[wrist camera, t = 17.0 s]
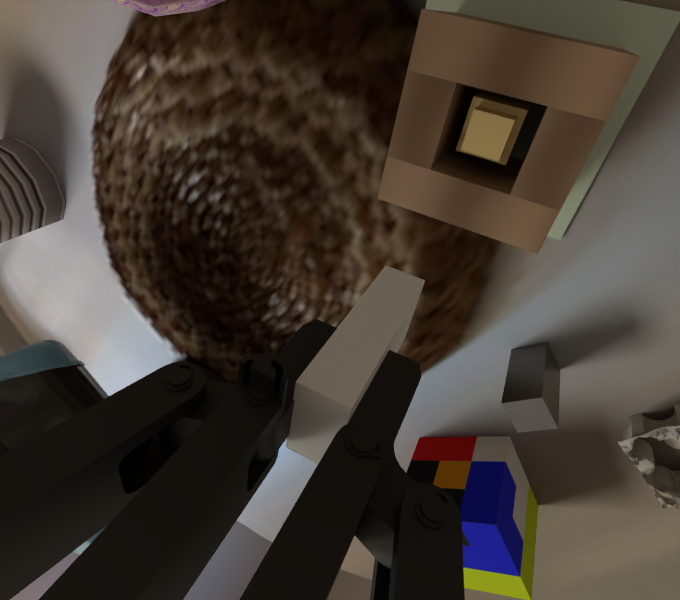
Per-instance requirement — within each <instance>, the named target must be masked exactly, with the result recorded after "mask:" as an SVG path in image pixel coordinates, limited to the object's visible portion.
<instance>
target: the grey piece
mask: <svg viewBox="0 0 680 600" xmlns="http://www.w3.org/2000/svg"><path fill="white" fill-rule="evenodd" d="M674 410H675V412H674V414H673V416H672V417H670V418H668V419H666V420H651V419H649V418H646V417H645V416H643V415H642V414H637V415H633V416H630V417H629V421H630V426H629V427H628V428H626V429H624V431H623V438H624V441H617V442H618V444H619V445H620V447H621V448H622V450H623V451H624V453H625V454H627V456H628V457H629V458H630V460H631V462H632V463H633V465H634V466H635V467H637V468H638V469H639V470H640V472H641V474H642V476H643V477H644V479H645V480H646V482H647V484H648V486H649V487H650V489H651V490H652V492H653V493H654V494H655V496H656V497H657V498H658V500H659V501H660V503H661V504H663V505H662V506H663V508H671V507H672V506H675V507H676V508H680V470H677V471H672V470H670V469H668V468H666V467H664V466H660V465H655V460H654V455H653V450H652V447H651V445H650V444H649V443H648V442H646V441H644V440H642V439H638V437H645V438H646V437H653V438H656V439H657V440H659V441H661V440H664V442H665V443H666V444H667V445H668V446H670V447H673V448H675V449H680V404H677V405H674Z"/></svg>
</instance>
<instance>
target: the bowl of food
mask: <svg viewBox="0 0 680 600" xmlns="http://www.w3.org/2000/svg"><path fill="white" fill-rule="evenodd" d="M111 1H113V2H116V3H119V4H122V5H125V6H128V7H130V8H133V9H136V10H139V11H142V12H145V13H147V14H150V15H153V16H162V15H170V14H177V13H185V12H193V11H200V10H202V9H205V8H208V7H211V6H213V5H216V4H218V3H220V2H223V1H225V0H111Z"/></svg>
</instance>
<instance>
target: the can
mask: <svg viewBox="0 0 680 600" xmlns="http://www.w3.org/2000/svg"><path fill="white" fill-rule="evenodd" d="M65 206H66V199H65V196H64V193H63V191H62V188H61V185H60V182H59V179H58V177H57V174H56V173H55V171H54V170H53V169H52V167H51V166H50V165H49V164H48V162H47V161H46V160H45V158H44V157H43V156H42V155H41V153H40V152H39V151H38V149H37V148H35V147H33V146H31V145H30V144H28V143H26V142H24V141H23V140H21V139H19V138H17V137H12V138H7V139H2V140H0V243H2V242H4V241H7V240H10V239H12V238H15V237H17V236H20V235H23V234H25V233H28V232H31V231H33V230H36V229H39V228H41V227H44V226H47V225H49V224H52V223H54V222H57V221H60V220H62V219H63V217H64V211H65Z"/></svg>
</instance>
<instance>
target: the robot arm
mask: <svg viewBox="0 0 680 600" xmlns="http://www.w3.org/2000/svg"><path fill="white" fill-rule="evenodd" d="M424 282H425V280H422V279H420V278H417V277H414V276H412V275H409V274H407V273H404V272H401V271H399V270H396V269H394V268H391V267H388V266H385V267H384V269H383V270H382V271H381V272H380V274H379V275H378V276H377V278H376V279H375V280H374V281H373V283H372V284H371V285H370V287H369V288H368V289H367V290H366V292H365V293H364V294H363V296H362V297H361V298H360V300H359V301H358V302H357V303H356V305H355V306H354V307H353V309H352V310H351V311H350V312H349V314H348V315H347V316H346V318H345V319H344V320H343V321H342V323H341V324H340V325H339V327H338V328H336V327H333V326H331V325H329V324H327V323H324V322H322V321H320V320H317V319H316V320H313V321H311V322H309V323H307V324H305V325H303V326H302V327H301V328H300V329H299V330H298V332H297V333H296V334H295V335H294V337H292V338H291V339H290V340H289V342H288V343H287V345H285V346H284V347H283V348H282V349H281V351H280V352H279V353H278V354H277V355H276V356H273V355H269V354H253V355H250V356H247V357H245V358H244V359H242V360H241V361H239V383H226V382H225V381H224V380H223V379H222V378H220V377H219V376H218V375H216V374H215V373H214V372H212V371H210V370H209V369H207V368H205V367H203V366H201V365H198V364H196V363H192V362H185V361H182V362H175V363H171V364H169V365H166V366H163V367H162V368H160V369H158V370H156V371H154V372H152V373H151V374H149V375H147V376H145V377H143V378H142V379H140V380H138V381H136V382H134V383H133V384H131V385H129V386H127V387H125V388H124V389H122V390H120V391H118V392H116V393H114V394H113V395H111V396H108V395H107V394H106V392H105V391H104V390H103V389H102V387H101V386H100V385H99V384H98V383H97V381H96V380H95V379H94V378H93V376H92V375H91V374H90V373H89V372H88V370H87V369H86V368H85V367H84V365H85V364H84V363H83V362H81V361H79V360H78V359H77V358H76V357H75V356H74V355H73V354H72V353H71V352H70V351H69V350H68V349H67V348H66V347H65V346H64V345H63V344H62V343H61V342H58V341H56V340H42V341H38V342H35V343H32V344H30V345H27V346H25V347H22V348H20V349H17V350H15V351H12V352H10V353H8V354H5V355H3V356H1V357H0V600H9V599H11V598H12V597H13V596H15V595H16V594H18V593H19V592H20V591H21V590H23V589H24V588H25V587H27V586H28V585H29V584H31V583H32V582H33V581H35V580H36V579H37V578H39V577H40V576H41V575H42V574H44V573H45V572H46V571H48V570H49V569H50V568H52V567H53V566H54V565H56V564H57V563H58V562H60V561H61V560H62V559H63V558H65V557H66V556H67V555H69V554H70V553H71V552H75V553H77V554H79V555H80V556H79V557H78V558H77V559H76V560H75V561H74V562H73V563H72V564H71V565H70V566H69V568H68V569H67V570H66V571H65V572H64V573H63V574H62V575H61V576H60V577H59V578H58V579H57V580H56V581H55V583H54V584H53V585H52V586H51V587H50V588H49V589H48V590H47V591H46V592H45V593H44V595H43V596H42V597H41V598H40V599H39V600H183V599H184V597H185V596H186V594H187V593H188V592H189V590H190V588H191V587H192V586H193V584H194V583H195V581H196V579H197V578H198V577H199V575H200V574H201V572H202V570H203V569H204V568H205V566H206V565H207V563H208V562H209V560H210V559H211V557H212V556H213V554H214V553H215V551H216V550H217V548H218V547H219V546H220V544H221V542H222V541H223V540H224V538H225V537H226V535H227V534H228V532H229V531H230V529H231V527H232V526H233V525H234V523H235V522H236V520H237V519H238V517H239V516H240V514H241V513H242V511H243V510H244V508H245V507H246V505H247V504H248V502H249V501H250V499H251V498H252V497H253V495H254V494H255V492H256V491H257V489H258V488H259V486H260V485H261V483H262V482H263V480H264V479H265V477H266V476H267V474H268V473H269V471H270V470H271V468H272V467H273V465H274V464H275V461H276V459H277V457H278V450H279V448H280V447H281V445H282V444H283V442H284V441H285V439H286V438H287V442H286V447H287V448H288V449H290V450H292V451H294V452H296V453H298V454H300V455H302V456H304V457H305V458H307V459H309V460H311V461H313V462H315V463H317V464H318V466H317V467H316V469H315V471H314V473H313V474H312V476H311V478H310V479H309V481H308V483H307V485H306V486H305V488H304V490H303V491H302V493H301V495H300V497H299V498H298V500H297V502H296V503H295V505H294V507H293V509H292V510H291V512H290V514H289V516H288V517H287V519H286V521H285V522H284V524H283V526H282V528H281V529H280V531H279V533H278V534H277V536H276V538H275V540H274V541H273V543H272V545H271V547H270V548H269V550H268V552H267V554H266V555H265V557H264V559H263V560H262V562H261V564H260V566H259V567H258V569H257V571H256V572H255V574H254V576H253V578H252V579H251V581H250V583H249V585H248V586H247V588H246V590H245V591H244V593H243V595H242V596H241V598H240V600H327V598H328V596H329V593H330V591H331V589H332V586H333V584H334V582H335V579H336V577H337V575H338V572H339V570H340V568H341V565H342V563H343V561H344V558H345V556H346V554H347V551H348V549H349V547H350V544H351V542H352V540H353V537H354V535H355V536H356V537H357V538H358V539H359V540H360V541H361V543H362V544H363V545H364V546H365V547H366V548H367V549H368V550H369V551H370V552H371V554H372V555H373V556H374V557H375V562H374V571H373V579H372V587H371V596H370V600H465V597H464V570H463V543H462V520H461V515H460V511H459V508H458V506H457V504H456V503H455V501H454V499H453V498H452V497H451V496H450V495H449V494H448V493H447V492H446V491H445V490H444V489H442V488H440V487H438V486H436V485H434V484H429V483H419V484H417V483H416V482H415V481H414V480H413V479H412V478H411V477H410V476H409V475H408V474H407V473H406V472H405V471H404V470H403V469H402V468H401V467H400V465H399V463H398V461H397V460H396V457H395V453H394V441H395V438H396V436H397V434H398V431H399V429H400V427H401V424H402V422H403V420H404V417H405V415H406V413H407V410H408V408H409V405H410V403H411V401H412V398H413V396H414V393H415V391H416V388H417V386H418V384H419V381H420V379H421V370H420V363H418V362H416V361H414V360H412V359H409V358H407V357H405V356H402V355H400V354H398V353H397V352H398V350H399V348H400V346H401V344H402V342H403V340H404V338H405V336H406V333H407V330H408V328H409V325H410V322H411V319H412V316H413V313H414V311H415V308H416V305H417V302H418V299H419V296H420V293H421V291H422V288H423V285H424Z"/></svg>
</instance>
